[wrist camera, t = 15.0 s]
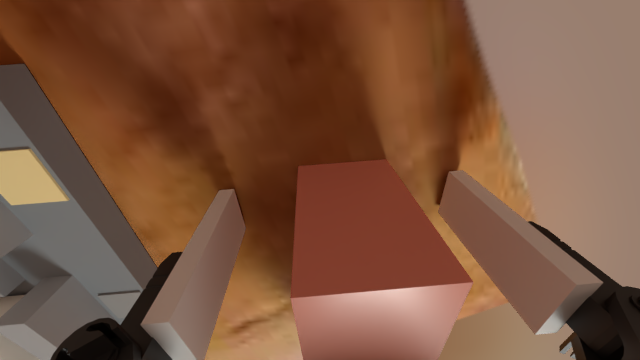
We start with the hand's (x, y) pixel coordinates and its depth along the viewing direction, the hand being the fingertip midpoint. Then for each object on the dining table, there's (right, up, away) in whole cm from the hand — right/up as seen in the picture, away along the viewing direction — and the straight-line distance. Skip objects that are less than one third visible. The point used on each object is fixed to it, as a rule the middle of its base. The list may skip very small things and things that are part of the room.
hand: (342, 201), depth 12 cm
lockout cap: (0, 0, 0) cm, 0 cm away
